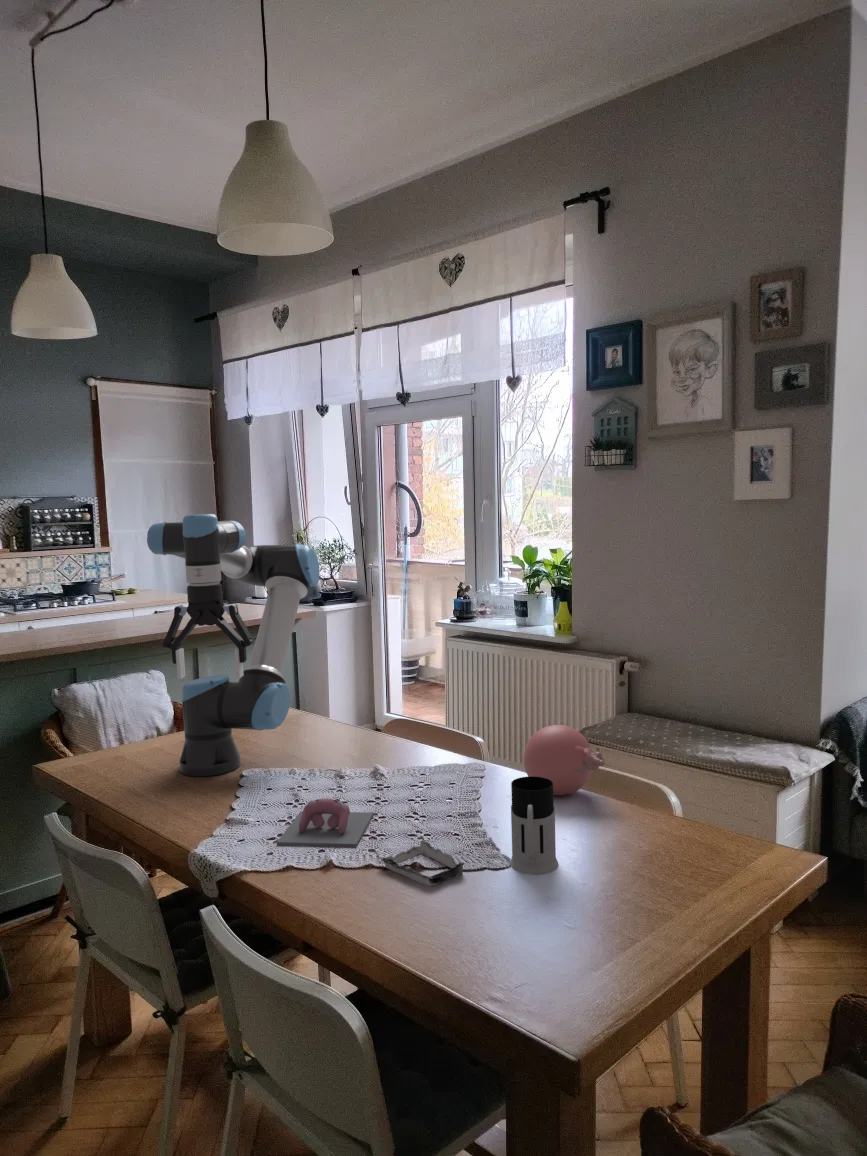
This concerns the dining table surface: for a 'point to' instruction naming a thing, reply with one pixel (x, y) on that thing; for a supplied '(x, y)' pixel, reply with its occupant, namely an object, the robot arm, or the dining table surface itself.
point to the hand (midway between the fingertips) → (210, 677)
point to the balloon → (561, 758)
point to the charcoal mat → (327, 832)
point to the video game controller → (325, 806)
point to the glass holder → (533, 826)
